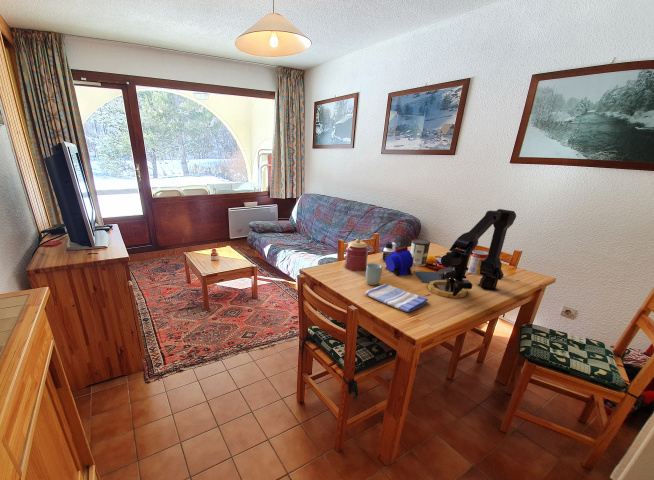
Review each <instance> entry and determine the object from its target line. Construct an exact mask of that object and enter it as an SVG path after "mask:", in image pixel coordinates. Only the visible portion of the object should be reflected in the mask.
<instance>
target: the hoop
mask: <svg viewBox="0 0 654 480" xmlns="http://www.w3.org/2000/svg"><path fill="white" fill-rule="evenodd" d="M436 285H446V280H435V281H431V282H430V283H427V289H428V290H429V292H431V293H433V294H436V295H438V296H442V297H445V298H455V299H458V298H463V297H466V295H467V294H468V289H462V290H461V291H460V292H459V293H458V294H457V295H456V296H453V292H447V291H442V290H439V289H437V288H436Z"/></svg>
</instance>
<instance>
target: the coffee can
mask: <svg viewBox="0 0 654 480" xmlns="http://www.w3.org/2000/svg"><path fill="white" fill-rule="evenodd" d="M430 246H431V241H430V240H427V239H419V238H417V239H416V238H415V239H412V240H411V246H410V250H409V251H410V253H411V255H412V257H413V265H412V266H418V267H423V266H426V265H427V261H426V260H428V255H429V250H430Z"/></svg>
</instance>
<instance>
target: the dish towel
mask: <svg viewBox="0 0 654 480" xmlns="http://www.w3.org/2000/svg"><path fill="white" fill-rule="evenodd" d="M365 296H367V297H369V298H371V299H374V300H376V301H378V302H380V303H382V304H385V305H388V306H390V307H392V308H395V309H397V310H400V311H402V312H405V313H411V312H412V311H415V310H417V309H419V308H422V307H423V306H425V305H427V304H428V303H429V302H428V300H429V299H428V298H427V297H425V296H422V295H419V294H416V293H413V292H409V291H406V290H403V289H402V288H399V287H395V286H393V285H390V284H389V283H384V284H382V285H379V286H378V285H377V286H376V287H373V288H370V289H368V290H367V291H365Z"/></svg>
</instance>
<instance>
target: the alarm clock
mask: <svg viewBox="0 0 654 480" xmlns="http://www.w3.org/2000/svg"><path fill="white" fill-rule="evenodd" d="M410 251H411V250H409V248H408V246H406V245H405V246H402V247H398V248H395V251H393V252H392V253H391V255H390V256H387V257H386V262H385V266H386V267H385V269H386V270H388V271H390V272H393V273H394V274H395V275H396V277H401V276H402V277H403V276H411V275H413V273H412V267H413V266H414V265H413V257H412V255H411V253H410Z"/></svg>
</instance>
